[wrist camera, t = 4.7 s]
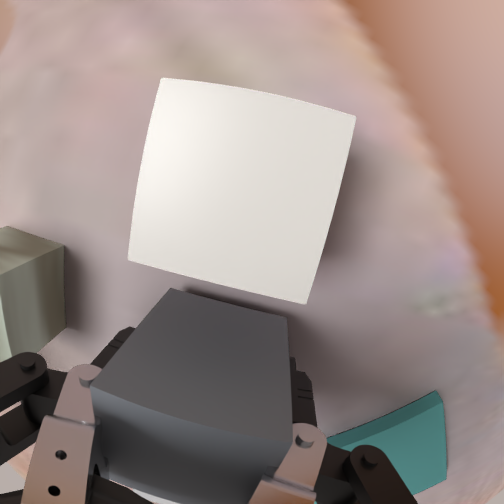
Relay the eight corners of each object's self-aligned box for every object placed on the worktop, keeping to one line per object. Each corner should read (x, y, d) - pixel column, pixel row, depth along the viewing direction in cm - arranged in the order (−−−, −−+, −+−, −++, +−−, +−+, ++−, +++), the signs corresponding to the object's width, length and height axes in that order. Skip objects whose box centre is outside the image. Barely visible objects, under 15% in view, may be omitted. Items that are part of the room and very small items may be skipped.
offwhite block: (324, 137, 10) (356, 116, 6) (294, 254, 11) (305, 304, 7) (203, 111, 10) (161, 77, 6) (179, 226, 11) (127, 260, 7)
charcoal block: (286, 317, 11) (292, 442, 5) (257, 402, 12) (246, 517, 7) (170, 288, 11) (89, 385, 5) (160, 376, 12) (107, 477, 7)
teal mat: (442, 470, 15) (446, 479, 14) (313, 516, 17) (314, 526, 16) (436, 390, 13) (442, 401, 12) (252, 458, 15) (251, 471, 14)
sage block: (65, 244, 12) (-2, 275, 8) (66, 326, 13) (15, 371, 9) (8, 225, 12) (-53, 246, 8) (12, 300, 13) (-38, 332, 9)
